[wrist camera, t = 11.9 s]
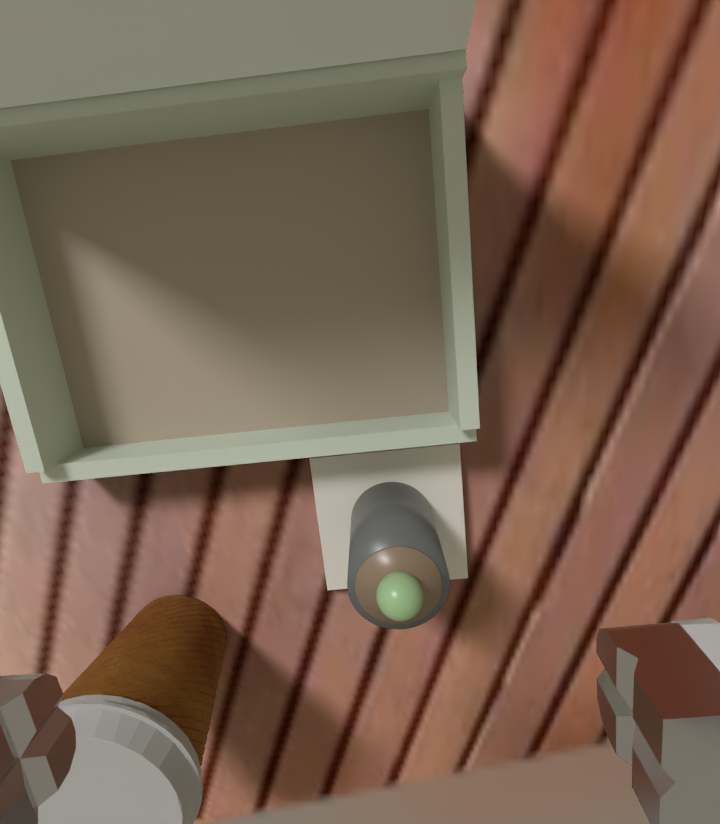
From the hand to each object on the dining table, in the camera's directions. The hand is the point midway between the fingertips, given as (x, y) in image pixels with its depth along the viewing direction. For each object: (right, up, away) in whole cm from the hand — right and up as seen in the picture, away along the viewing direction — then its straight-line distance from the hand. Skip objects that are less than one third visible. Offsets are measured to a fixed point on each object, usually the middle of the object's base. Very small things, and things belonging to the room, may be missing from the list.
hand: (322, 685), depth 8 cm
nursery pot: (+2, -3, +24) cm, 24 cm away
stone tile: (+2, -2, +25) cm, 25 cm away
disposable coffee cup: (-12, -11, +28) cm, 32 cm away
